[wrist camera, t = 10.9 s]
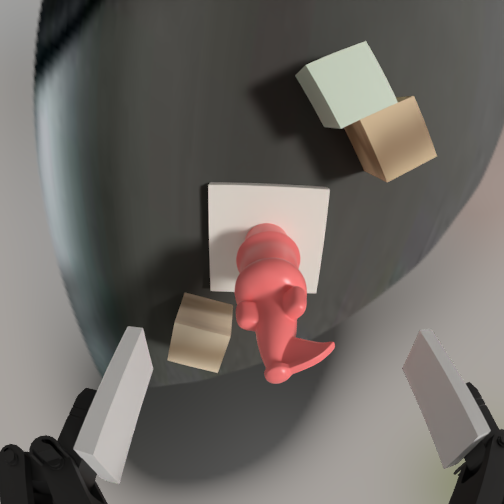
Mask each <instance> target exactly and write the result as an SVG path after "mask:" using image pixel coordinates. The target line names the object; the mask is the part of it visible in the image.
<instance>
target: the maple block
mask: <svg viewBox="0 0 504 504" xmlns="http://www.w3.org/2000/svg"><path fill="white" fill-rule="evenodd" d="M232 312H233V305H231V304H227V303H223V302H219V301H215V300H212V299H208V298H204V297H200V296H197V295H193V294H189V293H186V292H185V293H184V296H183V299H182V302H181V305H180V308H179V311H178V314H177V317H176V320H175V323H174V328H173V333H172V338H171V344H170V349H169V355H168V360H169V361H172V362H176V363H180V364H183V365H187V366H191V367H195V368H199V369H203V370H208V371H212V372H216V373H218V371H219V368H220V365H221V362H222V359H223V357H224V354H225V351H226V348H227V345H228V342H229V340H230V337H231V325H232Z"/></svg>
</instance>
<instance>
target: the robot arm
mask: <svg viewBox="0 0 504 504" xmlns="http://www.w3.org/2000/svg"><path fill="white" fill-rule="evenodd" d="M402 369H403V371H404V373H405V375H406V378H407V380H408V382H409V384H410V386H411V389H412V391H413V393H414V395H415V397H416V400H417V402H418V405H419V407H420V409H421V411H422V414H423V416H424V419H425V421H426V424H427V426H428V428H429V431H430V433H431V436H432V438H433V441H434V444H435V446H436V449H437V451H438V454H439V457H440V459H441V462H442V465H443V468H444V469H445V468H448V467H451V466H453V465H456V464H457V463H459V462H460V461H461V460H462V459H463V458H464V459H465V461H466V462H465V463H463V464H462V465H461V466H460V467H459V468H458V469H457V470H456V471H455V472H454V474H457V473H458V472H459V471H460V470H461V472H460V473H459V474H458V476H459V477H458V480H457V483H456V486H455V489H454V492H453V494H452V496H451V499H450V501H449V504H504V430H503V429H501V430H499V428H498V426H497V425H496V423H495V421H494V419H493V417H492V415H491V413H490V411H489V409H488V408H487V406H486V405H485V403H484V401H483V399H482V398H481V395H480V393H479V392H478V390H477V389H476V388H475V387H474V386H473V385H472V384H471V383H470V382H468V383H465V382H464V380H463V378H462V377H461V375H460V373H459V371H458V370H457V368H456V366H455V365H454V363H453V362H452V360H451V358H450V357H449V355H448V354H447V352H446V350H445V349H444V347H443V346H442V344H441V342H440V341H439V339H438V338H437V336H436V335H435V333H434V332H433V330H432V329H423V330H419V333H418V335H417V338H416V340H415V342H414V344H413V346H412V349H411V351H410V353H409V355H408V357H407V359H406V362H405V364H404V366H403V368H402ZM152 371H153V366H152V362H151V359H150V355H149V351H148V347H147V343H146V339H145V334H144V330H143V328H139V327H130V326H128V327H127V329H126V331H125V333H124V335H123V337H122V339H121V341H120V343H119V345H118V347H117V349H116V351H115V353H114V355H113V357H112V359H111V362H110V364H109V366H108V368H107V370H106V372H105V374H104V377H103V379H102V381H101V384H100V386H99V388H98V390H93V389H89V388H85V389H84V390H83V391H82V392H81V393H80V394H79V395H78V396H77V398H76V401H75V403H74V405H73V408H72V409H71V411H70V415H69V416H68V418H67V420H66V422H65V424H64V427H63V429H62V431H61V433H60V436H59V438H58V441H57V440H55V439H54V438H53V437H50V436H40V437H38V438H36V439H35V440H34V441H33V442H32V443H31V446H30V452H24V451H23V450H22V449H21V448H19V447H18V446H17V445H13V444H10V445H6V446H5V447H3V448H2V450H1V451H0V502H1V504H107V502H106V500H105V498H104V496H103V494H102V492H101V491H100V489H99V487H98V485H97V483H96V482H95V478H96V475H98V476H99V477H100V478H101V479H103V480H106V481H110V482H114V483H117V484H120V480H121V475H122V472H123V468H124V464H125V461H126V457H127V453H128V450H129V446H130V443H131V439H132V436H133V432H134V429H135V425H136V422H137V418H138V415H139V412H140V409H141V406H142V402H143V399H144V396H145V392H146V390H147V386H148V383H149V380H150V377H151V374H152Z"/></svg>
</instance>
